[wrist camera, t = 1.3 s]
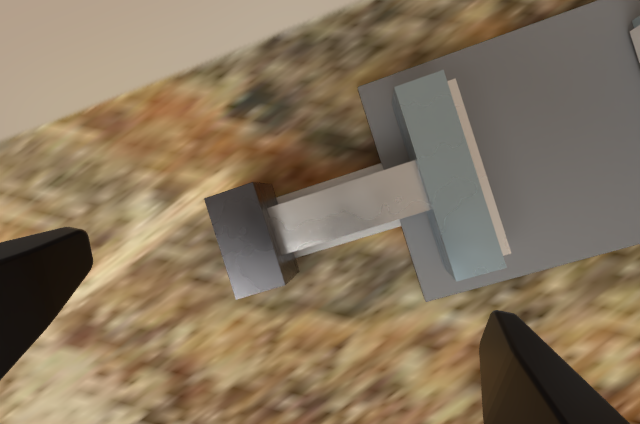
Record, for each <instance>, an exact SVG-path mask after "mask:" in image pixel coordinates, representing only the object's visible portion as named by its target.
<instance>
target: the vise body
mask: <svg viewBox="0 0 640 424" xmlns="http://www.w3.org/2000/svg"><path fill="white" fill-rule="evenodd" d="M441 70H444V73H445V76H446V79H447V81H449V80H452V79H455V78H456V81H457V85H458V88H459V91H460V94H461V97H462V100H463V103H464V106H465V110H466V113H467V116H468V119H469V122H470V125H471V128H472V131H473V135H474V138H475V141H476V144H477V147H478V150H479V153H480V156H481V160H482V163H483V166H484V169H485V172H486V175H487V178H488V181H489V185H490V188H491V191H492V194H493V197H494V200H495V203H496V206H497V210H498V213H499V216H500V219H501V222H502V225H503V228H504V231H505V235H506V238H507V241H508V244H509V247H510V250H511V253H512V254H508V255H504V256H503V257H504V260H505V263H506V267H507V268H504V269H500V270H497V271H493V272H489V273H486V274H482V275H478V276H475V277H471V278H468V279H464V280H460V281H457V282H456V281H455V280H454V279H453V277H452V276H451V275H450V274H449V273H448V272H447V271H446V270H445V269H444V266H443V263H442V260H441V257H440V253H439V250H438V247H437V244H436V241H435V238H434V235H433V232H432V228H431V225H430V222H429V219H428V216H427V213H426V211H425V212H422V213H418V214H415V215H412V216H408V217H405V218H402V219H399V220H395V221H392V222H389V223H386V224H382V225H379V226H376V227H372V228H369V229H366V230H363V231H359V232H356V233H353V234H350V235H346V236H343V237H340V238H337V239H333V240H330V241H327V242H323V243H320V244H317V245H314V246H310V247H307V248H304V249H301V250H297V251H294V252H293V253H294V256H295V258H297V257H300V256H304V255H307V254H310V253H314V252H317V251H320V250H324V249H327V248H330V247H333V246H337V245H340V244H343V243H347V242H350V241H353V240H357V239H360V238H363V237H366V236H370V235H373V234H376V233H380V232H383V231H386V230H390V229H393V228H396V227H399V226H401V227H402V230H403V233H404V236H405V239H406V242H407V246H408V249H409V252H410V255H411V258H412V261H413V264H414V268H415V271H416V274H417V277H418V280H419V283H420V286H421V290H422V293H423V296H424V299H425V301H426V302H428V301H431V300H435V299H439V298H442V297H446V296H450V295H453V294H457V293H461V292H464V291H468V290H472V289H475V288H479V287H483V286H486V285H490V284H494V283H497V282H501V281H505V280H509V279H512V278H516V277H520V276H523V275H527V274H531V273H534V272H538V271H542V270H545V269H549V268H553V267H556V266H560V265H564V264H567V263H571V262H575V261H578V260H582V259H586V258H589V257H593V256H597V255H600V254H604V253H608V252H612V251H615V250H619V249H623V248H626V247H630V246H634V245H637V244H640V0H597V1H595V2H592V3H589V4H586V5H583V6H581V7H578V8H575V9H572V10H570V11H567V12H564V13H561V14H559V15H556V16H553V17H550V18H547V19H545V20H542V21H539V22H536V23H534V24H531V25H528V26H525V27H523V28H520V29H517V30H514V31H512V32H509V33H506V34H503V35H500V36H498V37H495V38H492V39H489V40H487V41H484V42H481V43H478V44H476V45H473V46H470V47H467V48H464V49H462V50H459V51H456V52H453V53H451V54H448V55H445V56H442V57H440V58H437V59H434V60H431V61H429V62H426V63H423V64H420V65H417V66H415V67H412V68H409V69H406V70H404V71H401V72H398V73H395V74H393V75H390V76H387V77H384V78H381V79H379V80H376V81H373V82H370V83H368V84H365V85H362V86H359V87H358V92H359V95H360V98H361V101H362V104H363V107H364V111H365V114H366V117H367V120H368V123H369V126H370V129H371V133H372V136H373V139H374V142H375V145H376V148H377V151H378V155H379V158H380V161H381V163H380V164H377V165H374V166H371V167H367V168H364V169H361V170H358V171H355V172H352V173H349V174H346V175H343V176H340V177H337V178H334V179H331V180H328V181H325V182H322V183H319V184H316V185H313V186H310V187H307V188H304V189H301V190H298V191H295V192H292V193H289V194H285V195H282V196H279V197H276V199H277V202H278V205H279V204H282V203H285V202H288V201H291V200H294V199H297V198H300V197H303V196H306V195H309V194H312V193H315V192H319V191H322V190H325V189H328V188H331V187H334V186H337V185H340V184H343V183H346V182H349V181H352V180H355V179H358V178H361V177H364V176H368V175H371V174H374V173H377V172H380V171H383V170H386V169H389V168H392V167H395V166H398V165H401V164H404V163H407V162H410V159H409V156H408V153H407V150H406V147H405V144H404V141H403V137H402V134H401V131H400V128H399V125H398V122H397V119H396V115H395V112H394V109H393V106H392V99H393V92H394V87H396V86H399V85H402V84H404V83H407V82H410V81H413V80H416V79H418V78H421V77H424V76H427V75H430V74H432V73H435V72H438V71H441Z"/></svg>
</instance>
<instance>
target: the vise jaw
mask: <svg viewBox="0 0 640 424" xmlns="http://www.w3.org/2000/svg"><path fill="white" fill-rule="evenodd" d="M392 106H393V109H394V112H395V115H396V119H397V122H398V125H399V128H400V131H401V134H402V137H403V141H404V144H405V147H406V150H407V153H408V156H409V159H410V162H407V163H404V164H401V165H398V166H395V167H392V168H389V169H386V170H383V171H380V172H377V173H374V174H371V175H368V176H364V177H361V178H358V179H355V180H352V181H349V182H346V183H343V184H340V185H337V186H334V187H331V188H328V189H325V190H322V191H319V192H315V193H312V194H309V195H306V196H303V197H300V198H297V199H294V200H291V201H288V202H285V203H282V204H279V205H278V202H277V199H276V196H275V193H274V190H273V186H272V184H264V183H255V182H252V183H249V184H246V185H243V186H240V187H237V188H234V189H231V190H228V191H225V192H222V193H219V194H216V195H213V196H210V197H207V198H205V199H204V200H205V203H206V206H207V209H208V212H209V216H210V219H211V222H212V225H213V228H214V232H215V235H216V238H217V241H218V244H219V247H220V251H221V254H222V257H223V260H224V263H225V266H226V270H227V273H228V276H229V279H230V282H231V285H232V289H233V292H234V295H235V298H236V299H240V298H243V297H247V296H250V295H253V294H257V293H260V292H264V291H267V290H270V289H274V288H277V287H281V286H284V285H286V284H287V283H288V282H289V281H290V280H291V279H292V278H293V277H294V276H295V275H296V274H297V273H298V272H299V269H298V266H297V262H296V259H295V256H294V253H293V252H294V251H297V250H301V249H304V248H307V247H310V246H314V245H317V244H320V243H323V242H327V241H330V240H333V239H337V238H340V237H343V236H346V235H350V234H353V233H356V232H359V231H363V230H366V229H369V228H372V227H376V226H379V225H382V224H386V223H389V222H392V221H395V220H399V219H402V218H405V217H408V216H412V215H415V214H418V213H422V212H425V211H426V213H427V216H428V219H429V222H430V225H431V228H432V232H433V235H434V238H435V241H436V244H437V247H438V250H439V253H440V257H441V260H442V263H443V266H444V269H445V270H446V271H447V272H448V273H449V274H450V275H451V276H452V277H453V279H454V280H455V281H456V282H457V281H460V280H464V279H468V278H471V277H475V276H478V275H482V274H486V273H489V272H493V271H497V270H500V269H504V268H507V267H506V263H505V260H504V257H503V256H504V255H508V254H512V253H511V250H510V247H509V244H508V241H507V238H506V235H505V231H504V228H503V225H502V222H501V219H500V216H499V213H498V210H497V206H496V203H495V200H494V197H493V194H492V191H491V188H490V185H489V181H488V178H487V175H486V172H485V169H484V166H483V163H482V160H481V156H480V153H479V150H478V147H477V144H476V141H475V138H474V135H473V131H472V128H471V125H470V122H469V119H468V116H467V113H466V110H465V106H464V103H463V100H462V97H461V94H460V91H459V88H458V85H457V81H456V78H455V79H452V80H449V81H447V79H446V76H445V73H444V70H441V71H438V72H435V73H432V74H430V75H427V76H424V77H421V78H418V79H416V80H413V81H410V82H407V83H404V84H402V85H399V86H396V87H394V92H393V99H392Z"/></svg>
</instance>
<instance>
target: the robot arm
mask: <svg viewBox="0 0 640 424" xmlns="http://www.w3.org/2000/svg"><path fill="white" fill-rule="evenodd" d="M92 265H93V257H92V252H91V247H90V242H89V237H88V234H87V233H86V231H84V230H82V229H77V228H72V227H63V228H59V229H55V230H51V231H47V232H42V233H38V234H34V235H30V236H26V237H22V238H18V239H13V240H9V241H5V242H1V243H0V380H1V379H2V378H3V377H4V375H5V374H6V373H7V372H8V371H9V370H10V369H11V368H12V366H13V365H14V364H15V363H16V362H17V361H18V360H19V359H20V358H21V356H22V355H23V354H24V353H25V352H26V351H27V350H28V349H29V348H30V346H31V345H32V344H33V343H34V342H35V341H36V340H37V339H38V337H39V336H40V335H41V334H42V333H43V332H44V331H45V330H46V328H47V327H48V326H49V325H50V324H51V322H52V321H53V320H54V319H55V317H56V316H57V315H58V313H59V312H60V311H61V309H62V308H63V307H64V305H65V304H66V303H67V301H68V300H69V298H70V297H71V296H72V294H73V293H74V292H75V290H76V289H77V288H78V286H79V285H80V284H81V282H82V281H83V280H84V278H85V277H86V276H87V274H88V273H89V271H90V270H91V268H92ZM479 355H480V372H481V390H482V407H483V421H484V424H630V423H629V422H628V421H627V420H626V419H625V418H624V417H623V416H621V415H620V414H619V413H618V412H617V411H616V410H615V409H614V408H613V407H612V406H611V405H610V404H609V403H608V402H607V401H606V400H605V399H604V398H603V397H602V396H601V395H600V394H599V393H597V392H596V391H595V390H594V389H593V388H592V387H591V386H590V385H589V384H588V383H587V382H586V381H585V380H584V379H583V378H582V377H581V376H580V375H579V374H578V373H577V372H576V371H574V370H573V369H572V368H571V367H570V366H569V365H568V364H567V363H566V362H565V361H564V360H563V359H562V358H561V357H560V356H559V355H558V354H557V353H556V352H555V351H554V350H553V349H551V348H550V347H549V346H548V345H547V344H546V343H545V342H544V341H543V340H542V339H541V338H540V337H539V336H538V335H537V334H536V333H535V332H534V331H533V330H532V329H531V328H530V327H528V326H527V325H526V324H525V323H524V322H523V321H522V320H521V319H520V318H519V317H518V316H517V315H516V314H513V313H509V312H503V311H498V310H495V311H493V312H492V313H491V314H490V317H489V319H488V322H487V325H486V327H485V330H484V333H483V336H482V338H481V341H480V348H479Z"/></svg>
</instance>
